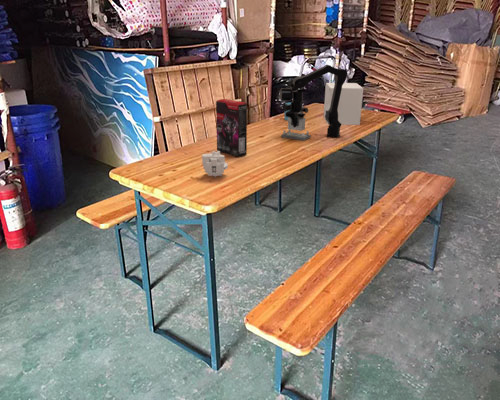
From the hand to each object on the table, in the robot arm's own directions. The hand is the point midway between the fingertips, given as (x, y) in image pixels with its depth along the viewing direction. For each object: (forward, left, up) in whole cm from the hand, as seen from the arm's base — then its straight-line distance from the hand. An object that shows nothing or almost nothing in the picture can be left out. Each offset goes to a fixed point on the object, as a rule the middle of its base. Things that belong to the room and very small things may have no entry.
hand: (296, 126), depth 261 cm
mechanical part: (0, +82, -7) cm, 82 cm away
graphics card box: (+14, +48, -7) cm, 51 cm away
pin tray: (0, 0, -7) cm, 7 cm away
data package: (+22, -40, -7) cm, 46 cm away
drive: (0, 0, -2) cm, 2 cm away
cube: (-6, -59, -7) cm, 60 cm away
